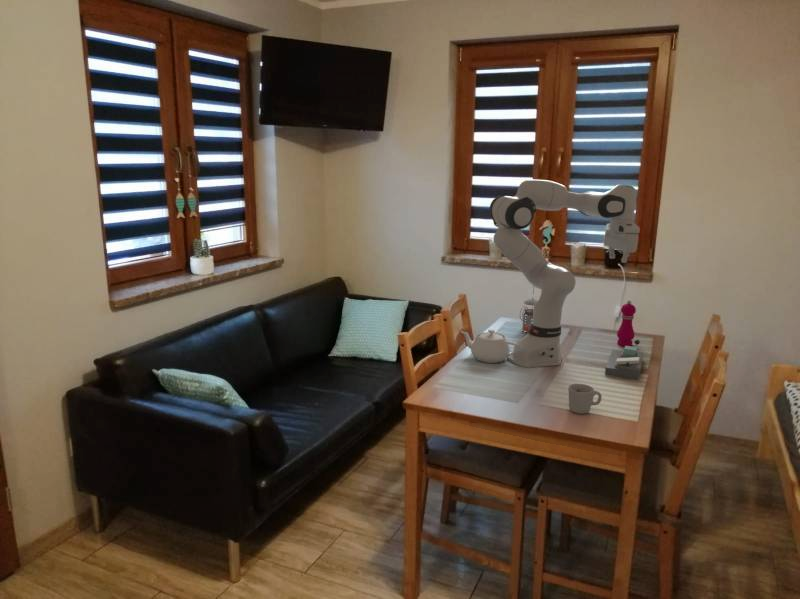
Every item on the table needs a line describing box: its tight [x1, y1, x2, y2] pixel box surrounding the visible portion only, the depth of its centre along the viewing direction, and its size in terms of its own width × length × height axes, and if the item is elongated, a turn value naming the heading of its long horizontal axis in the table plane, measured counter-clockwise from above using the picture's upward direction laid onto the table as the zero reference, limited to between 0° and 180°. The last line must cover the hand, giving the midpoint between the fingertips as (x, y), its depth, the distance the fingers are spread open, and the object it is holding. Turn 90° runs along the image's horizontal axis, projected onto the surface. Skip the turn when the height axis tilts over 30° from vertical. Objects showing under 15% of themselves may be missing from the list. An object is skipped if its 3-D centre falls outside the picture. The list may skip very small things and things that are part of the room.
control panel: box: [604, 349, 645, 381], centre depth 234 cm, size 24×12×6 cm, turn 155°
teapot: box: [460, 329, 519, 364], centre depth 242 cm, size 25×16×12 cm, turn 60°
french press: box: [519, 285, 539, 332], centre depth 279 cm, size 10×12×25 cm
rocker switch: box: [616, 357, 640, 366], centre depth 226 cm, size 4×8×2 cm, turn 65°
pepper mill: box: [616, 300, 637, 347], centre depth 261 cm, size 7×7×20 cm
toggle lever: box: [632, 339, 641, 347], centre depth 239 cm, size 2×2×6 cm
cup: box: [568, 383, 602, 415], centre depth 193 cm, size 11×8×8 cm
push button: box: [623, 346, 638, 356], centre depth 233 cm, size 4×4×3 cm
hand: (617, 260), depth 240 cm, fingers open, 8 cm apart
